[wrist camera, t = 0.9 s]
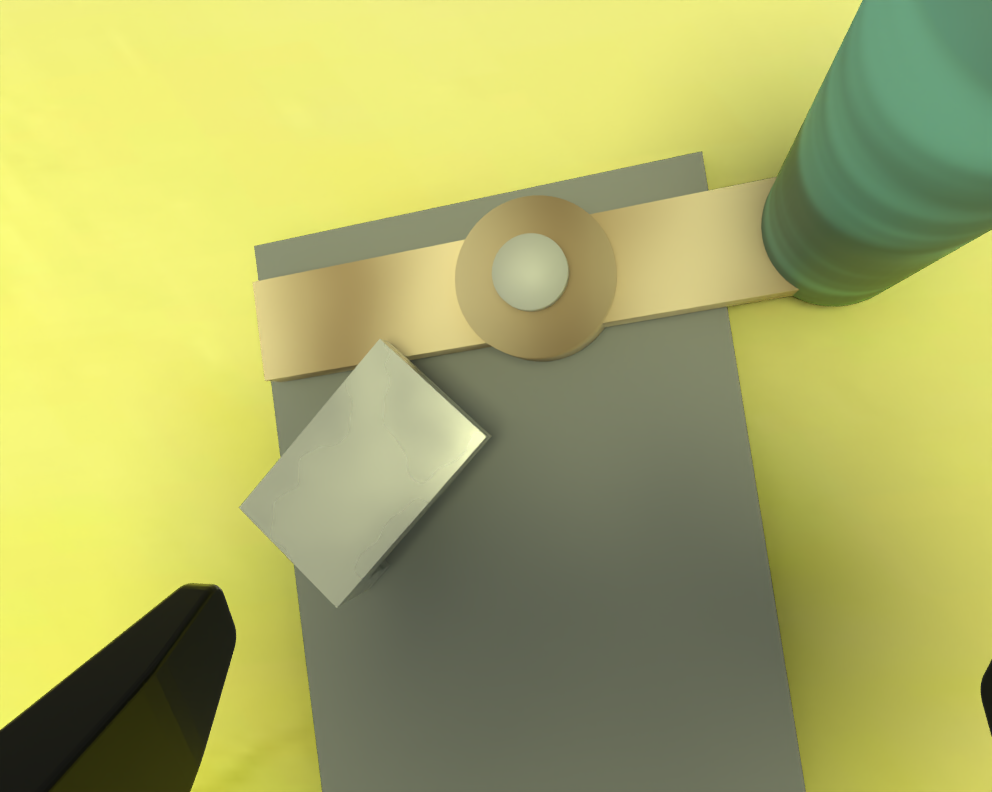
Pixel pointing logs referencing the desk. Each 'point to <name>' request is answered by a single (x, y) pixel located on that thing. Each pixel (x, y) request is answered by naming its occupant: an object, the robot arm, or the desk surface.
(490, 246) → the link
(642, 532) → the base plate
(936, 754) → the desk surface
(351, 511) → the block
